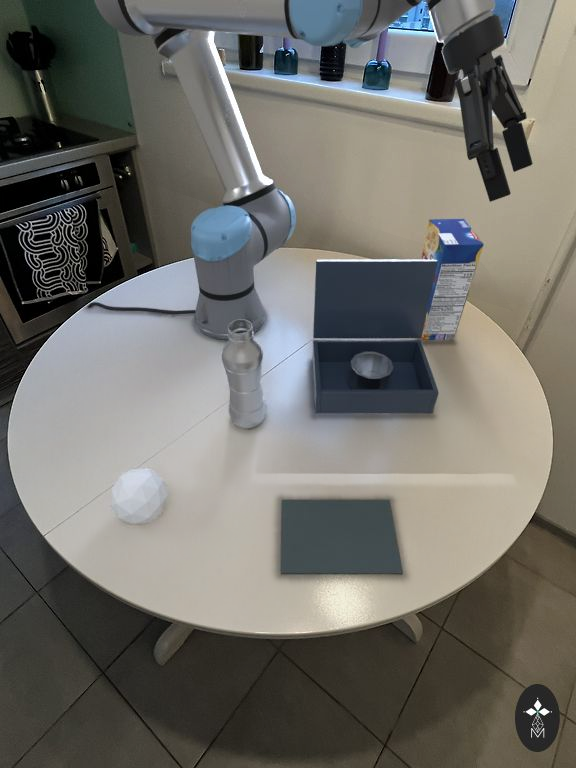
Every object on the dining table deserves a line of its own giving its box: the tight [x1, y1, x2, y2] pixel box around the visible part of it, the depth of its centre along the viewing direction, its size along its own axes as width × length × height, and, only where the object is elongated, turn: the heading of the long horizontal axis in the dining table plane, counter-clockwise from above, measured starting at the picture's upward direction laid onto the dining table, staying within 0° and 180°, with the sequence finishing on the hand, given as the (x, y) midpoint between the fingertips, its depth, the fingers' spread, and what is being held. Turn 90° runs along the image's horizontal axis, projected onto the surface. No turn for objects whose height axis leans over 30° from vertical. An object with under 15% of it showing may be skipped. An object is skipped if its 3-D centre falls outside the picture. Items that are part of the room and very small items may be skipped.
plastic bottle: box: [221, 319, 268, 429], centre depth 72 cm, size 6×7×20 cm
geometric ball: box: [109, 467, 169, 525], centre depth 64 cm, size 8×8×8 cm
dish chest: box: [311, 339, 440, 414], centre depth 83 cm, size 15×21×6 cm
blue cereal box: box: [420, 218, 485, 342], centre depth 91 cm, size 7×11×22 cm, turn 2°
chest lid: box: [312, 259, 438, 339], centre depth 81 cm, size 15×21×1 cm
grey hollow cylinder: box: [349, 351, 393, 390], centre depth 83 cm, size 7×7×5 cm
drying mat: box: [280, 499, 404, 575], centre depth 63 cm, size 16×11×1 cm
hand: (512, 182), depth 69 cm, fingers open, 13 cm apart
